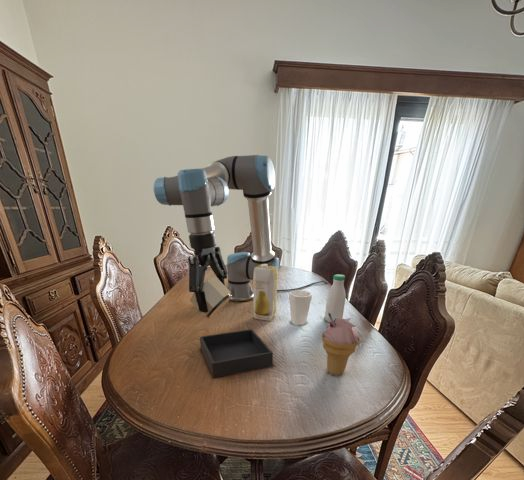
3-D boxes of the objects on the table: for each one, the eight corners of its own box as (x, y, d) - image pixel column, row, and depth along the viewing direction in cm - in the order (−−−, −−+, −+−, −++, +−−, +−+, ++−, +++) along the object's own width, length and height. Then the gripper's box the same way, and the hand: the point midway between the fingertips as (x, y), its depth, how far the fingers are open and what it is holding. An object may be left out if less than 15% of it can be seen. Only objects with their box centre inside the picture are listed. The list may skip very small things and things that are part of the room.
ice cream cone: (333, 385, 84) (342, 322, 74) (310, 367, 92) (317, 309, 83) (360, 376, 88) (373, 315, 79) (337, 360, 97) (346, 303, 87)
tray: (252, 340, 109) (252, 328, 107) (272, 366, 93) (273, 352, 91) (201, 349, 103) (199, 336, 100) (213, 377, 87) (212, 363, 84)
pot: (184, 305, 91) (201, 283, 84) (204, 293, 99) (220, 272, 92) (203, 323, 92) (220, 303, 85) (220, 310, 100) (237, 290, 93)
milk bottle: (342, 324, 124) (349, 278, 115) (324, 322, 126) (330, 277, 116) (341, 317, 131) (348, 273, 122) (324, 316, 132) (329, 272, 123)
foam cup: (311, 320, 128) (313, 291, 122) (307, 327, 120) (309, 298, 114) (290, 317, 131) (292, 289, 125) (285, 324, 123) (286, 295, 117)
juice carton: (251, 319, 128) (251, 264, 117) (258, 313, 135) (258, 261, 123) (271, 322, 125) (273, 266, 114) (277, 316, 132) (279, 262, 120)
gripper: (212, 226, 92) (221, 291, 103) (164, 240, 74) (182, 318, 85) (232, 225, 89) (240, 293, 101) (187, 241, 71) (203, 320, 82)
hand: (213, 304), depth 93 cm, fingers closed on pot, 11 cm apart
